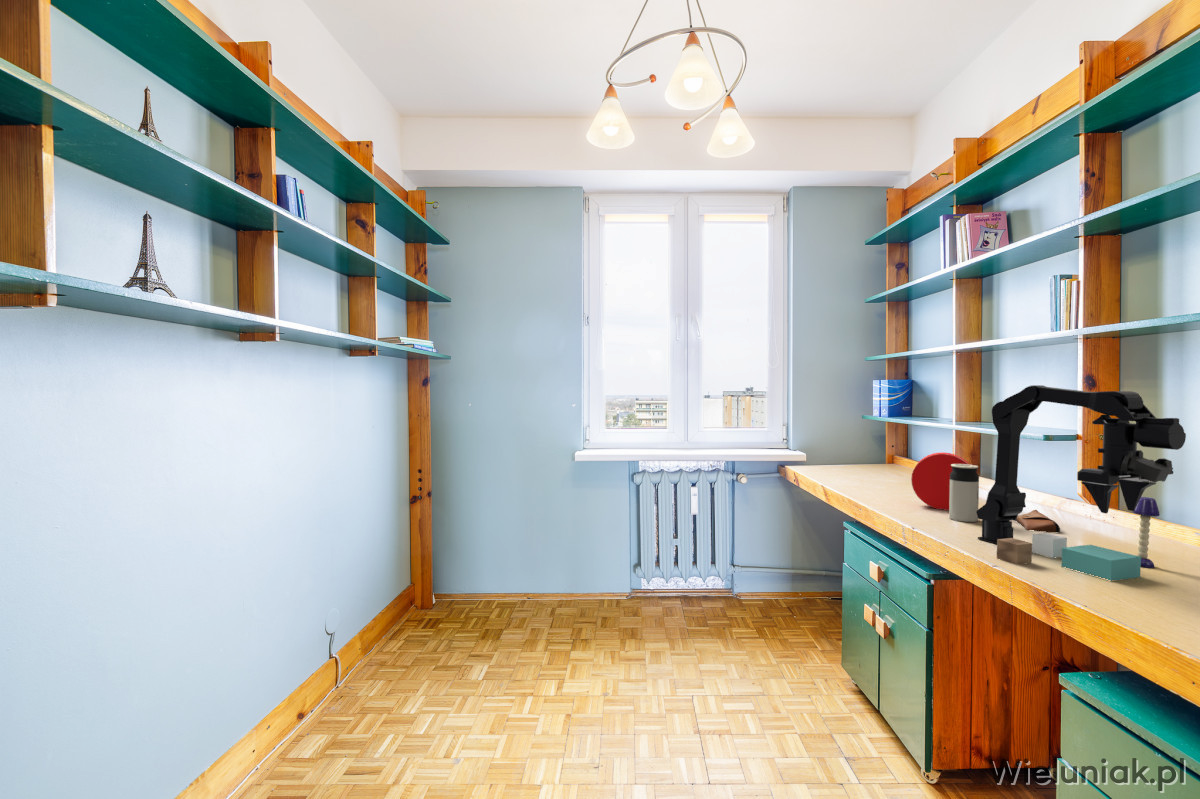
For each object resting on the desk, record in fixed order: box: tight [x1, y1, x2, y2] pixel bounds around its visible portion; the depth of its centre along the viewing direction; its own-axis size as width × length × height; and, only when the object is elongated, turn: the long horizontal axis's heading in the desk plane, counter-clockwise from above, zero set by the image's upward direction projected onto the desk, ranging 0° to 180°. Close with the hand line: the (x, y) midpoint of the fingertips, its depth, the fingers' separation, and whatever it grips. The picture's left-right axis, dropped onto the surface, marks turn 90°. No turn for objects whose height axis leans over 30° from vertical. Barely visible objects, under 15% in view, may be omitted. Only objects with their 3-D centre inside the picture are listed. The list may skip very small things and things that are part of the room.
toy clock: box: [910, 452, 971, 511], centre depth 196 cm, size 20×6×20 cm, turn 56°
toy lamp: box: [1132, 496, 1160, 569], centre depth 133 cm, size 5×5×17 cm
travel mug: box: [948, 464, 980, 523], centre depth 179 cm, size 8×8×18 cm
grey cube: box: [1031, 532, 1068, 559], centre depth 141 cm, size 5×5×5 cm
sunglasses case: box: [1014, 509, 1061, 533], centre depth 172 cm, size 18×7×7 cm
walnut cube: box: [996, 537, 1033, 566], centre depth 136 cm, size 5×5×5 cm
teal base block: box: [1061, 544, 1142, 582], centre depth 128 cm, size 10×10×5 cm
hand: (1117, 511), depth 126 cm, fingers open, 9 cm apart
